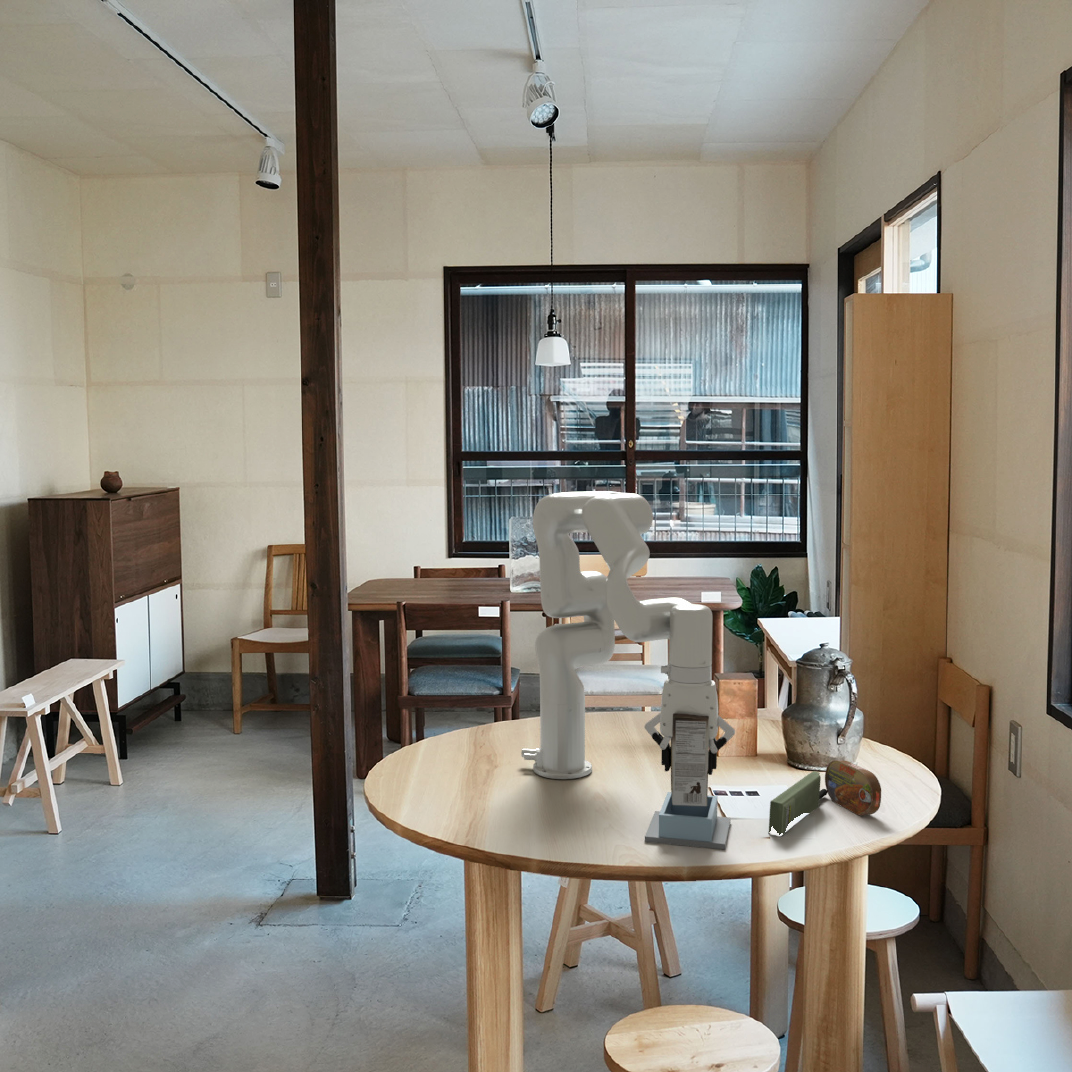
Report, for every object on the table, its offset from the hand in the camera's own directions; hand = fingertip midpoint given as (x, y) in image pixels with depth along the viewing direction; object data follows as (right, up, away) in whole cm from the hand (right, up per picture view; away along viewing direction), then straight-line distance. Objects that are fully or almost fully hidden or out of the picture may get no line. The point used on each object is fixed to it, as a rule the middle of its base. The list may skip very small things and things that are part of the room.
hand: (688, 770), depth 188 cm
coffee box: (0, -5, 0) cm, 5 cm away
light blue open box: (0, -11, +1) cm, 11 cm away
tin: (+33, -10, +13) cm, 38 cm away
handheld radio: (+22, -11, +9) cm, 27 cm away
